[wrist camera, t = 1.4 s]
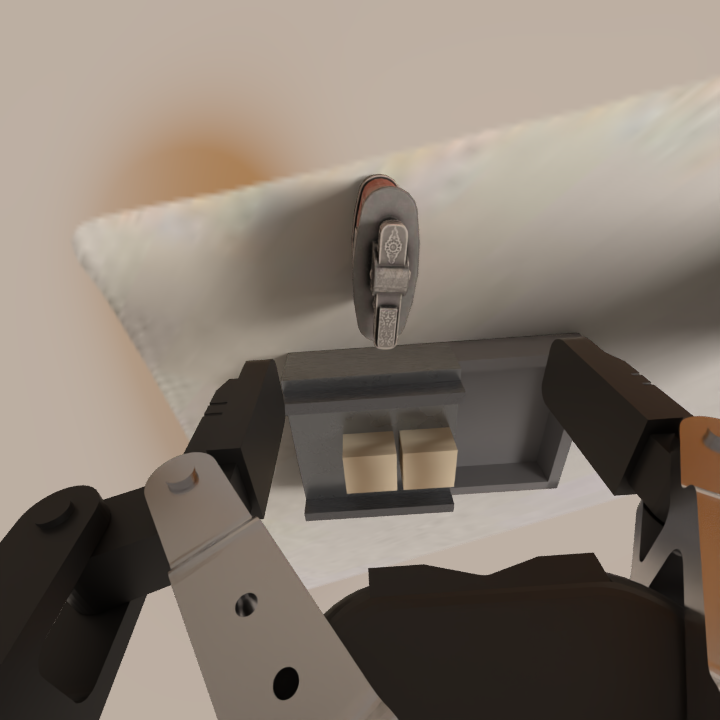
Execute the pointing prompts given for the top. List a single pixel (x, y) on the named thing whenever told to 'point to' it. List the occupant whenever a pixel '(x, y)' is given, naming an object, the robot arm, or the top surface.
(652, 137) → the top surface
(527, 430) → the tray
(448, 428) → the chip
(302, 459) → the slot block
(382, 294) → the lighter
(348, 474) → the chip
